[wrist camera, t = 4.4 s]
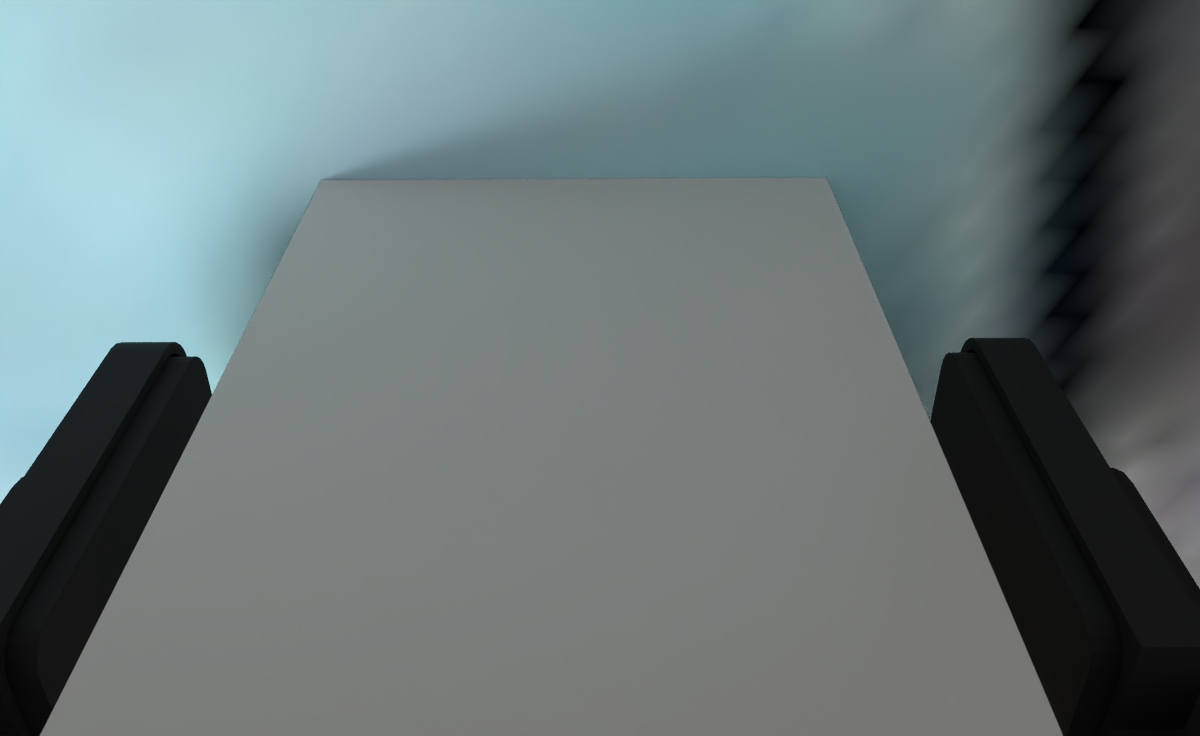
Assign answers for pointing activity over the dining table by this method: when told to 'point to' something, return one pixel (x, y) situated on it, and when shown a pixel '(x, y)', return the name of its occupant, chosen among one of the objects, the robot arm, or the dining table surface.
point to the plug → (561, 488)
